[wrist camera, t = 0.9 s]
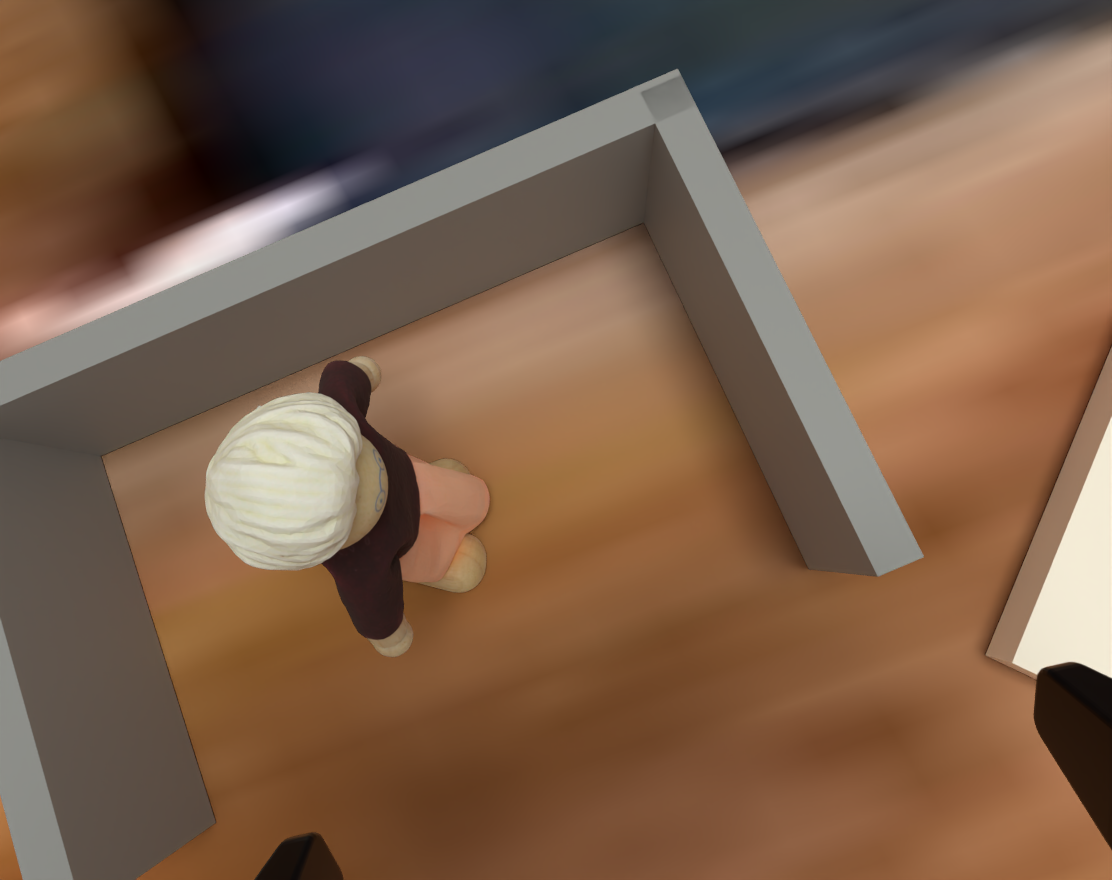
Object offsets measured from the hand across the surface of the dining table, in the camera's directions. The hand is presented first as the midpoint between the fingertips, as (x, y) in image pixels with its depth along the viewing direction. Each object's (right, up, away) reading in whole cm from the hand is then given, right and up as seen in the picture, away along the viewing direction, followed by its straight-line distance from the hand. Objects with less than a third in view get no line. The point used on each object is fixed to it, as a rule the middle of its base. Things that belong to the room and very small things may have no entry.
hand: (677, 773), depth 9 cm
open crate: (-5, +2, +15) cm, 17 cm away
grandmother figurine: (-5, +2, +16) cm, 17 cm away
